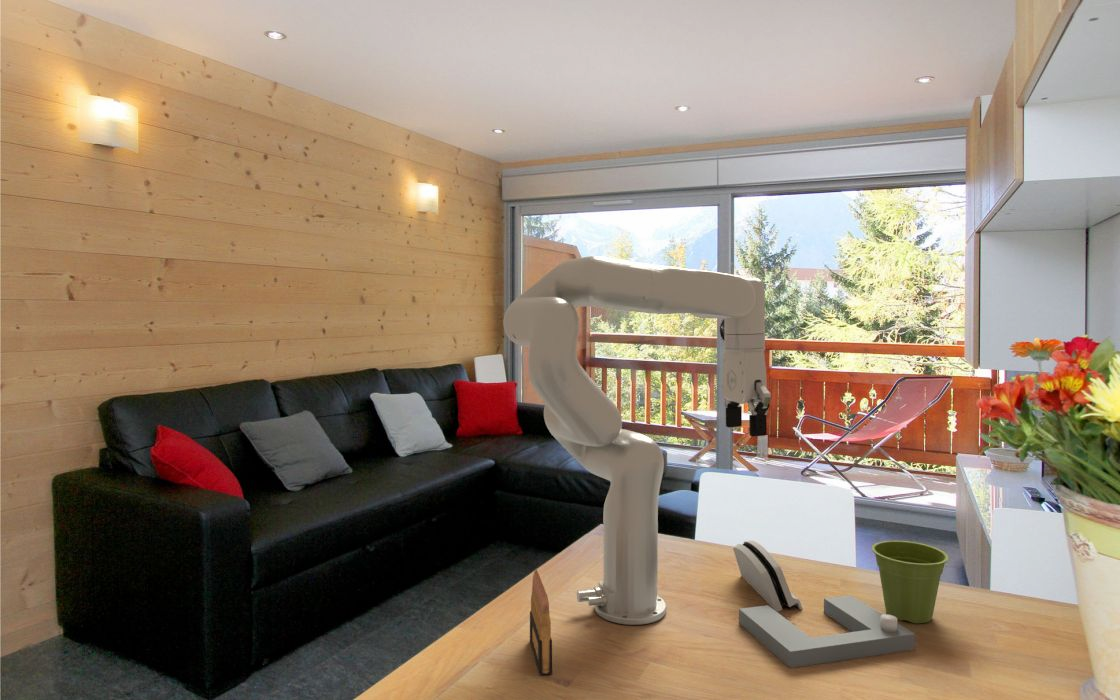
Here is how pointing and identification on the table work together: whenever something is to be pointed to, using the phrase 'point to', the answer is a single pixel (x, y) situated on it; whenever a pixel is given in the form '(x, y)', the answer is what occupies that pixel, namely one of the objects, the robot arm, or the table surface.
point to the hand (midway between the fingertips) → (745, 431)
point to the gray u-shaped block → (799, 649)
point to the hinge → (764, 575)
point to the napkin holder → (540, 627)
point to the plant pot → (909, 578)
